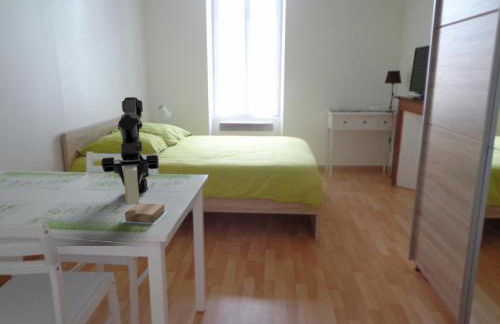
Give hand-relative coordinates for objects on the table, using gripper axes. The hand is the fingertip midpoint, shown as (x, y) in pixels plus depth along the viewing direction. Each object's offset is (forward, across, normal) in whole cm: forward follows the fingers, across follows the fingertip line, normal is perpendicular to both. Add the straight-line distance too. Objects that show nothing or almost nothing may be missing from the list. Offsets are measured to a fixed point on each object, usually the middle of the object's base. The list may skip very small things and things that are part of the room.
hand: (131, 184), depth 125 cm
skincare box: (+4, 0, +6) cm, 7 cm away
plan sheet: (+8, +4, +10) cm, 14 cm away
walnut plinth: (+8, +4, +10) cm, 13 cm away
